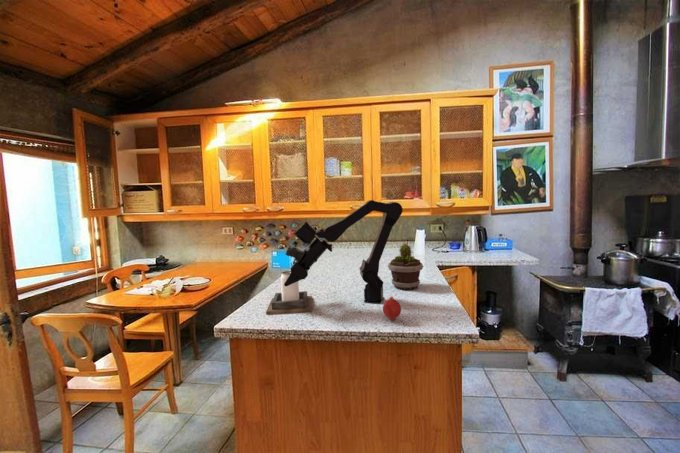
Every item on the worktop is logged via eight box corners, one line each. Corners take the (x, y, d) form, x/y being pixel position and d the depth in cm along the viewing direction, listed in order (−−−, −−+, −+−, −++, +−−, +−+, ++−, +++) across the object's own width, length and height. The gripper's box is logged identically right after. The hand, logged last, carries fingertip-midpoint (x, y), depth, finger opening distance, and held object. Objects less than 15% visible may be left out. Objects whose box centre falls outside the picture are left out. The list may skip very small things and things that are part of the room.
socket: (312, 298, 134) (311, 289, 134) (311, 311, 118) (311, 302, 118) (272, 300, 133) (271, 292, 132) (266, 314, 117) (265, 304, 117)
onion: (381, 317, 109) (380, 294, 109) (398, 316, 110) (397, 293, 109) (385, 324, 104) (384, 299, 103) (403, 323, 104) (402, 298, 103)
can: (291, 307, 120) (289, 274, 119) (278, 305, 123) (276, 273, 123) (303, 302, 125) (301, 271, 124) (290, 300, 129) (288, 270, 128)
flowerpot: (421, 292, 135) (420, 244, 134) (385, 290, 141) (383, 244, 139) (425, 283, 149) (424, 239, 147) (391, 281, 154) (390, 239, 152)
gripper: (298, 235, 133) (272, 263, 133) (296, 241, 114) (265, 274, 114) (319, 253, 134) (293, 281, 134) (319, 262, 115) (290, 295, 115)
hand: (285, 282), depth 124 cm, fingers open, 8 cm apart
